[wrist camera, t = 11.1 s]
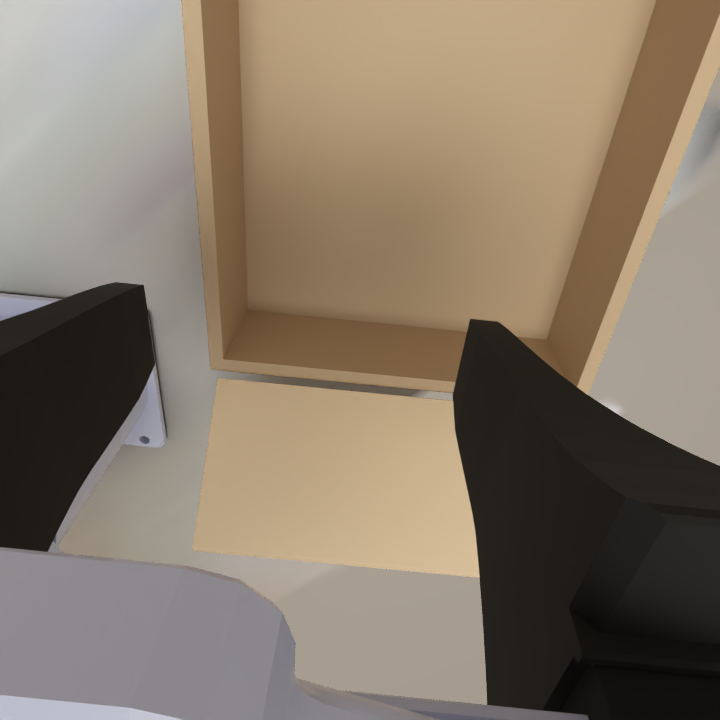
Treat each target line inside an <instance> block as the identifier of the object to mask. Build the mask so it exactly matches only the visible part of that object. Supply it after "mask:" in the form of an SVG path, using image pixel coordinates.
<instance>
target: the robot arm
mask: <svg viewBox="0 0 720 720" xmlns="http://www.w3.org/2000/svg"><path fill="white" fill-rule="evenodd" d="M453 406H454V422H455V432H456V438H457V443H458V448H459V452H460V457H461V462H462V467H463V471H464V476H465V481H466V486H467V490H468V495H469V500H470V504H471V509H472V514H473V520H474V526H475V533H476V543H477V554H478V564H479V575H480V588H481V599H482V614H483V628H484V646H485V663H486V682H487V705H482V704H471V703H461V702H451V701H441V700H432V699H422V698H411V697H401V696H391V695H381V694H371V693H361V692H351V691H341V690H336V689H332V688H329V687H325V686H322V685H318V684H315V683H311V682H308V681H305V680H301V679H298V678H295V673H294V671H295V670H294V669H295V645H296V643H295V640H294V638H293V636H292V634H291V631H290V629H289V626H288V624H287V622H286V619H285V617H284V615H283V613H282V611H281V610H280V609H279V608H278V607H277V606H276V605H275V604H274V603H273V602H271V601H270V600H268V599H267V598H265V597H264V596H262V595H261V594H260V593H258V592H257V591H255V590H254V589H252V588H251V587H249V586H248V585H246V584H245V583H244V582H242V581H241V580H239V579H236V578H232V577H228V576H224V575H221V574H217V573H213V572H209V571H205V570H201V569H198V568H194V567H190V566H183V565H173V564H163V563H153V562H143V561H133V560H123V559H113V558H103V557H93V556H83V555H73V554H64V553H63V552H61V550H60V549H59V548H58V547H57V546H58V545H59V543H60V541H61V540H62V538H63V537H64V535H65V534H66V532H67V531H68V529H69V527H70V526H71V524H72V523H73V521H74V520H75V518H76V517H77V515H78V513H79V512H80V510H81V509H82V507H83V506H84V504H85V502H86V501H87V499H88V498H89V496H90V495H91V493H92V492H93V490H94V488H95V487H96V485H97V484H98V482H99V481H100V479H101V477H102V476H103V474H104V473H105V471H106V470H107V468H108V467H109V465H110V463H111V462H112V460H113V459H114V457H115V456H116V454H117V453H118V451H119V449H120V448H121V446H122V445H134V446H144V447H155V448H158V447H161V446H163V445H164V443H165V441H166V431H165V424H164V418H163V411H162V404H161V397H160V390H159V383H158V376H157V370H156V363H155V356H154V349H153V342H152V335H151V329H150V322H149V317H148V311H147V304H146V298H145V291H144V285H137V284H127V283H117V282H116V283H111V284H106V285H102V286H99V287H96V288H93V289H90V290H87V291H84V292H81V293H78V294H75V295H73V296H70V297H67V298H64V299H55V298H45V297H35V296H25V295H15V294H4V293H0V720H720V466H718V465H716V464H714V463H711V462H709V461H707V460H704V459H702V458H700V457H698V456H695V455H693V454H691V453H689V452H687V451H685V450H683V449H681V448H678V447H676V446H674V445H672V444H670V443H668V442H666V441H665V440H663V439H661V438H659V437H657V436H655V435H653V434H651V433H649V432H647V431H645V430H644V429H641V428H640V427H638V426H636V425H635V424H633V423H631V422H629V421H628V420H626V419H624V418H623V417H621V416H619V415H618V414H616V413H615V412H613V411H611V410H610V409H608V408H607V407H605V406H604V405H602V404H600V403H599V402H597V401H596V400H594V399H593V398H591V397H590V396H588V395H587V394H586V393H584V392H583V391H582V390H580V389H579V388H578V387H576V386H575V385H574V384H572V383H571V382H570V381H568V380H567V379H566V378H564V377H563V376H562V375H561V374H559V373H558V372H557V371H556V370H554V369H553V368H552V367H551V366H550V365H548V364H547V363H546V362H545V361H544V360H542V359H541V358H540V357H539V356H538V355H537V354H536V353H534V352H533V351H532V350H531V349H530V348H529V347H528V346H526V345H525V344H524V343H523V342H522V341H521V340H520V339H519V338H517V337H516V336H515V335H514V334H513V333H512V332H511V331H509V330H508V329H507V328H506V327H505V326H503V325H502V324H501V323H499V322H498V321H488V320H478V319H470V321H469V326H468V330H467V334H466V339H465V343H464V348H463V352H462V356H461V361H460V365H459V369H458V374H457V378H456V382H455V387H454V391H453ZM143 436H146V437H147V438H149V439H147V438H145V437H143Z"/></svg>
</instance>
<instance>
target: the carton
mask: <svg viewBox="0 0 720 720" xmlns="http://www.w3.org/2000/svg"><path fill="white" fill-rule="evenodd" d="M181 3H182V16H183V28H184V41H185V54H186V66H187V79H188V91H189V104H190V117H191V129H192V142H193V155H194V167H195V180H196V193H197V205H198V218H199V230H200V243H201V256H202V268H203V281H204V294H205V306H206V319H207V332H208V344H209V357H210V369H212V370H222V371H232V372H242V373H253V374H263V375H273V376H283V377H294V378H304V379H314V380H324V381H335V382H345V383H355V384H365V385H376V386H386V387H396V388H406V389H417V390H427V391H437V392H448V393H453V391H454V387H455V382H456V378H457V374H458V369H459V365H460V361H461V356H462V352H463V348H464V343H465V339H466V334H467V330H468V326H469V321H470V319H478V320H488V321H498V322H499V323H501V324H502V325H503V326H505V327H506V328H507V329H508V330H509V331H511V332H512V333H513V334H514V335H515V336H516V337H517V338H519V339H520V340H521V341H522V342H523V343H524V344H525V345H526V346H528V347H529V348H530V349H531V350H532V351H533V352H534V353H536V354H537V355H538V356H539V357H540V358H541V359H542V360H544V361H545V362H546V363H547V364H548V365H550V366H551V367H552V368H553V369H554V370H556V371H557V372H558V373H559V374H561V375H562V376H563V377H564V378H566V379H567V380H568V381H570V382H571V383H572V384H574V385H575V386H576V387H578V388H579V389H580V390H582V391H583V392H584V393H586V394H587V395H588V394H589V391H590V389H591V386H592V384H593V381H594V379H595V376H596V374H597V371H598V368H599V366H600V364H601V361H602V359H603V356H604V354H605V351H606V349H607V346H608V344H609V341H610V339H611V336H612V333H613V331H614V329H615V326H616V324H617V321H618V319H619V316H620V314H621V311H622V309H623V306H624V304H625V301H626V299H627V296H628V294H629V291H630V289H631V286H632V284H633V281H634V279H635V276H636V274H637V271H638V269H639V266H640V264H641V261H642V259H643V256H644V254H645V251H646V249H647V246H648V244H649V241H650V239H651V236H652V234H653V231H654V229H655V226H656V224H657V221H658V219H659V216H660V214H661V211H662V209H663V206H664V204H665V201H666V199H667V196H668V194H669V191H670V189H671V186H672V184H673V181H674V179H675V176H676V174H677V171H678V169H679V166H680V164H681V161H682V159H683V156H684V154H685V151H686V149H687V146H688V144H689V141H690V139H691V136H692V134H693V131H694V129H695V126H696V124H697V121H698V119H699V116H700V114H701V111H702V109H703V106H704V104H705V101H706V99H707V96H708V94H709V91H710V89H711V86H712V84H713V81H714V79H715V76H716V74H717V71H718V69H719V66H720V0H181Z"/></svg>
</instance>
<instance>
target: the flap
mask: <svg viewBox="0 0 720 720" xmlns="http://www.w3.org/2000/svg"><path fill="white" fill-rule="evenodd" d="M192 551H202V552H213V553H223V554H234V555H245V556H255V557H266V558H276V559H287V560H298V561H308V562H319V563H330V564H340V565H351V566H362V567H372V568H384V569H393V570H405V571H415V572H425V573H437V574H447V575H458V576H468V577H479V578H480V575H479V564H478V554H477V543H476V533H475V526H474V520H473V514H472V509H471V504H470V500H469V495H468V490H467V486H466V481H465V476H464V471H463V467H462V462H461V457H460V452H459V448H458V443H457V438H456V432H455V422H454V406H453V401H449V400H438V399H428V398H418V397H408V396H397V395H387V394H377V393H366V392H356V391H346V390H336V389H325V388H315V387H305V386H295V385H284V384H274V383H264V382H254V381H243V380H233V379H223V378H217V385H216V392H215V399H214V405H213V412H212V419H211V426H210V433H209V439H208V446H207V453H206V460H205V467H204V473H203V480H202V487H201V494H200V501H199V507H198V514H197V521H196V528H195V535H194V541H193V548H192Z"/></svg>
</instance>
